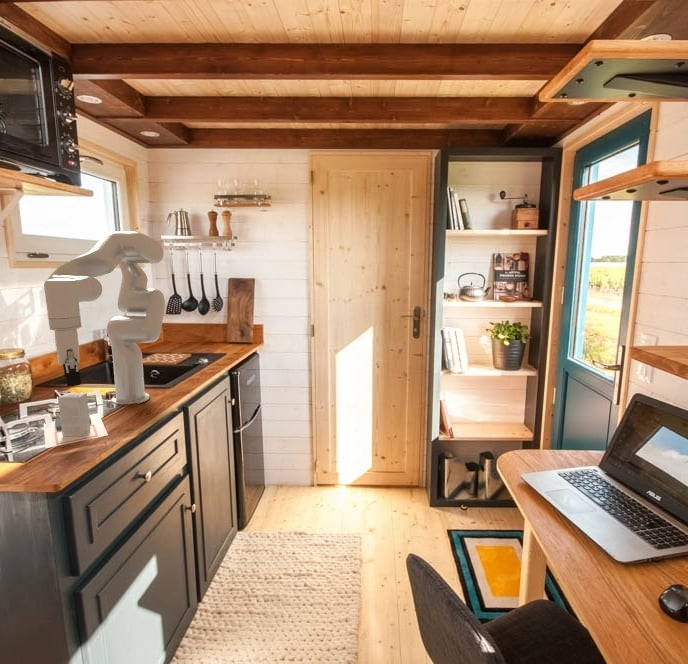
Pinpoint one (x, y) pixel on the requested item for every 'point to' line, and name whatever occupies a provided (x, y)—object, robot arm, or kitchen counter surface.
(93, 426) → the stamping board
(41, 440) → the kitchen counter surface
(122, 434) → the kitchen counter surface
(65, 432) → the skincare box
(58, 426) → the ink pad
